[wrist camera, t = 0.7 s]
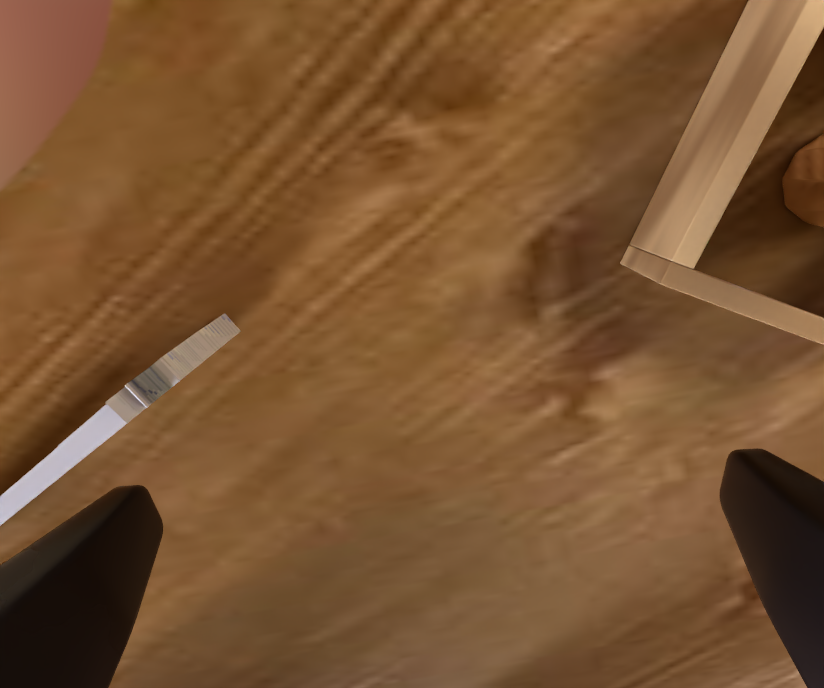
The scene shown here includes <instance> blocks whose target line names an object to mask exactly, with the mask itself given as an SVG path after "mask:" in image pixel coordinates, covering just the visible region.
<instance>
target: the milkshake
mask: <svg viewBox="0 0 824 688" xmlns="http://www.w3.org/2000/svg"><path fill="white" fill-rule="evenodd" d="M782 184H783V192H784V201H785V206H786V207H787V208H788V209H790V210H791V211H792V212H793V213H794V214H796V215H797V216H798V217H799V218H800V219H801V220H803V221H804V222H806V223H809V224H813V225H817V226H821V227H824V134H823V135H821V136H820V137H818V138H817V139H815V140H814V141H812V142H811V143H809V144H807V145H806V146H804V147H803V148H801V149H800V150H798V151H797V152H796V153H795V155H794V157H793V159H792V161H791V163H790V165H789V167H788V169H787V171H786V173H785V174H784V176H783V178H782Z"/></svg>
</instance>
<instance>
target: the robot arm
mask: <svg viewBox="0 0 824 688" xmlns="http://www.w3.org/2000/svg"><path fill="white" fill-rule="evenodd" d="M720 502H721V506H722V509H723V511H724V514H725V516H726V518H727V521H728V523H729V526H730V528H731V530H732V533H733V535H734V538H735V540H736V542H737V545H738V547H739V550H740V552H741V554H742V557H743V559H744V561H745V564H746V566H747V569H748V571H749V573H750V576H751V578H752V581H753V583H754V585H755V588H756V590H757V592H758V595H759V597H760V599H761V601H762V604H763V606H764V608H765V610H766V612H767V614H768V616H769V618H770V620H771V621H772V623H773V625H774V627H775V629H776V631H777V633H778V635H779V636H780V638H781V640H782V642H783V644H784V646H785V647H786V649H787V651H788V653H789V655H790V657H791V658H792V660H793V662H794V664H795V666H796V668H797V669H798V671H799V673H800V675H801V677H802V679H803V680H804V682H805V684H806V686H807V688H824V482H823V481H821V480H820V479H818V478H816V477H814V476H812V475H810V474H809V473H807V472H805V471H803V470H801V469H799V468H797V467H796V466H794V465H792V464H790V463H788V462H786V461H785V460H783V459H781V458H779V457H777V456H775V455H774V454H772V453H770V452H768V451H766V450H763V449H742V450H734V451H732V452H731V453H730V454H729V456H728V458H727V462H726V466H725V471H724V475H723V479H722V483H721V488H720ZM162 534H163V523H162V519H161V517H160V515H159V513H158V511H157V509H156V506H155V504H154V502H153V500H152V498H151V496H150V494H149V492H148V490H147V489H146V488H145V487H144V486H140V485H133V486H120V487H116V488H114V489H112V490H111V491H109V492H108V493H107V494H105V495H104V496H102V497H101V498H99V499H98V500H96V501H95V502H93V503H92V504H90V505H89V506H87V507H86V508H84V509H83V510H81V511H80V512H79V513H77V514H76V515H74V516H73V517H71V518H70V519H68V520H67V521H65V522H64V523H62V524H61V525H59V526H58V527H56V528H55V529H53V530H52V531H51V532H49V533H48V534H46V535H45V536H43V537H42V538H40V539H39V540H37V541H36V542H34V543H33V544H31V545H30V546H28V547H27V548H26V549H24V550H23V551H21V552H20V553H18V554H17V555H15V556H14V557H12V558H11V559H9V560H8V561H6V562H5V563H3V564H2V565H0V688H108V687H109V685H110V682H111V680H112V678H113V675H114V673H115V671H116V668H117V666H118V663H119V661H120V659H121V656H122V654H123V652H124V649H125V647H126V644H127V642H128V639H129V637H130V634H131V632H132V629H133V626H134V623H135V620H136V618H137V615H138V612H139V608H140V605H141V602H142V599H143V596H144V592H145V589H146V586H147V583H148V580H149V577H150V573H151V570H152V567H153V564H154V561H155V558H156V554H157V551H158V548H159V545H160V542H161V538H162Z"/></svg>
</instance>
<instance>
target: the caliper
mask: <svg viewBox="0 0 824 688" xmlns="http://www.w3.org/2000/svg"><path fill="white" fill-rule="evenodd" d="M239 332H240V330H239V328H238V327H237V326H236V325H235V324H234V323H233V322H232V321H231V320H230V318H229V317H228V316H227V315H226V314H225V313H224V314H223V315H221V316H220V317H218V318H217V319H215V320H214V321H212V322H211V323H209V324H208V325H206V326H205V327H203V328H202V329H201V330H199V331H198V332H196V333H195V334H193V335H192V336H190V337H189V338H188V339H186V340H185V341H184V342H182V343H181V344H179V345H178V346H177V347H175V348H174V349H172V350H171V351H170V352H168V353H167V354H165V355H164V356H163V357H161V358H160V359H159V360H157V361H156V362H155V363H154V364H153V365H152V366H150V367H149V368H148V369H147V370H145V371H144V372H142V373H141V374H140V375H138V376H137V377H135V378H134V379H133V380H131V381H130V382H128V383H127V384H126V385H125V387H124V388H123V389H122V390H120V391H119V392H118V393H116V394H115V395H114V396H112V397H111V398H110V399H109V400H107V401H106V402H105V403H106V405H105V406H104V407H102V408H101V409H100V410H99V411H98V412H97V413H95V414H94V415H93V416H92V417H91V418H90V419H89V420H87V421H86V422H85V423H84V424H83V425H82V426H80V427H79V428H78V429H77V430H76V431H75V432H73V433H72V434H71V435H70V436H69V437H68V438H66V439H65V440H64V441H63V442H62V443H61V444H59V445H58V447H57V448H56V449H55V450H54V451H52V452H51V453H50V454H49V455H48V456H47V457H45V458H44V459H43V460H42V461H41V462H40V463H38V464H37V465H36V466H35V467H34V468H33V469H31V470H30V471H29V472H28V473H27V474H26V475H24V476H23V477H22V478H21V479H20V480H19V481H17V482H16V483H15V484H14V485H13V486H12V487H10V488H9V489H8V490H7V491H6V492H5V493H3V494H2V495H1V496H0V525H2V524H3V523H4V522H5V521H7V520H8V519H9V518H10V517H11V516H13V515H14V514H15V513H16V512H18V511H19V510H20V509H21V508H23V507H24V506H25V505H26V504H28V503H29V502H30V501H31V500H33V499H34V498H35V497H36V496H38V495H39V494H40V493H41V492H42V491H44V490H45V489H46V488H47V487H49V486H50V485H51V484H52V483H54V482H55V481H56V480H57V479H59V478H60V477H61V476H62V475H64V474H65V473H66V472H67V471H69V470H70V469H71V468H72V467H74V466H75V465H76V464H77V463H79V462H80V461H81V460H82V459H83V458H85V457H86V456H87V455H88V454H90V453H91V452H92V451H93V450H95V449H96V448H97V447H98V446H100V445H101V444H102V443H103V442H105V441H106V440H107V439H108V438H110V437H111V436H112V435H113V434H114V433H116V432H117V431H118V430H119V429H121V428H122V427H123V426H124V425H126V424H127V423H128V422H130V421H131V420H132V419H133V418H134V417H136V416H137V415H138V414H139V413H141V412H142V411H143V410H144V409H146V408H147V407H148V406H149V405H151V404H152V403H153V402H154V401H156V400H157V399H158V398H159V397H160V396H162V395H163V394H164V393H165V392H167V391H168V390H169V389H170V388H172V387H173V386H174V385H175V384H177V383H178V382H179V381H180V380H181V379H183V378H184V377H185V376H186V375H188V374H189V373H190V372H191V371H193V370H194V369H195V368H196V367H197V366H199V365H200V364H201V363H202V362H204V361H205V360H206V359H207V358H209V357H210V356H211V355H212V354H213V353H215V352H216V351H217V350H218V349H220V348H221V347H222V346H223V345H225V344H226V343H227V342H228V341H229V340H231V339H232V338H233V337H234V336H236V335H237V334H238V333H239Z"/></svg>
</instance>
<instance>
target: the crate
mask: <svg viewBox="0 0 824 688" xmlns="http://www.w3.org/2000/svg"><path fill="white" fill-rule="evenodd" d="M823 28H824V0H749V1H748V3H747V5H746V7H745V9H744V11H743V13H742V15H741V17H740V19H739V21H738V23H737V25H736V27H735V29H734V31H733V33H732V35H731V37H730V39H729V41H728V43H727V46H726V48H725V50H724V52H723V54H722V56H721V58H720V60H719V62H718V64H717V66H716V68H715V70H714V72H713V74H712V76H711V78H710V80H709V82H708V84H707V86H706V88H705V90H704V93H703V95H702V97H701V99H700V101H699V103H698V105H697V107H696V109H695V111H694V113H693V115H692V117H691V119H690V121H689V123H688V125H687V127H686V129H685V131H684V133H683V135H682V137H681V140H680V142H679V144H678V146H677V148H676V150H675V152H674V154H673V156H672V158H671V160H670V162H669V164H668V166H667V168H666V170H665V172H664V174H663V176H662V178H661V180H660V182H659V184H658V187H657V189H656V191H655V193H654V195H653V197H652V199H651V201H650V203H649V205H648V207H647V209H646V211H645V213H644V215H643V217H642V219H641V221H640V223H639V225H638V227H637V229H636V231H635V234H634V236H633V238H632V240H631V242H630V245H629V246H628V248H627V250H626V252H625V254H624V256H623V258H622V260H621V262H620V264H622V265H624V266H626V267H628V268H629V269H631V270H633V271H635V272H637V273H639V274H641V275H643V276H645V277H647V278H649V279H651V280H653V281H655V282H657V283H659V284H661V285H663V286H666V287H669V288H671V289H674V290H677V291H680V292H682V293H685V294H688V295H690V296H693V297H696V298H698V299H701V300H704V301H707V302H709V303H712V304H715V305H717V306H720V307H723V308H725V309H728V310H731V311H733V312H736V313H739V314H742V315H744V316H747V317H750V318H752V319H755V320H758V321H760V322H763V323H766V324H768V325H771V326H774V327H777V328H779V329H782V330H785V331H787V332H790V333H793V334H795V335H798V336H801V337H804V338H806V339H809V340H812V341H814V342H817V343H820V344H822V345H824V317H821V316H818V315H816V314H813V313H810V312H808V311H805V310H802V309H800V308H797V307H794V306H792V305H789V304H786V303H784V302H781V301H778V300H776V299H773V298H770V297H768V296H765V295H762V294H760V293H757V292H754V291H752V290H749V289H746V288H744V287H741V286H738V285H736V284H733V283H730V282H728V281H725V280H722V279H720V278H717V277H714V276H711V275H709V274H706V273H703V272H701V271H698V270H695V269H693V268H694V267H695V265H696V263H697V262H698V260H699V258H700V256H701V254H702V252H703V250H704V249H705V247H706V245H707V243H708V241H709V239H710V237H711V236H712V234H713V232H714V230H715V228H716V226H717V224H718V223H719V221H720V219H721V217H722V215H723V213H724V211H725V210H726V208H727V206H728V204H729V202H730V200H731V198H732V197H733V195H734V193H735V191H736V189H737V187H738V185H739V184H740V182H741V180H742V178H743V176H744V174H745V172H746V171H747V169H748V167H749V165H750V163H751V161H752V159H753V158H754V156H755V154H756V152H757V150H758V148H759V146H760V145H761V143H762V141H763V139H764V137H765V135H766V133H767V132H768V130H769V128H770V126H771V124H772V122H773V120H774V119H775V117H776V115H777V113H778V111H779V109H780V107H781V106H782V104H783V102H784V100H785V98H786V96H787V94H788V93H789V91H790V89H791V87H792V85H793V83H794V81H795V80H796V78H797V76H798V74H799V72H800V70H801V68H802V67H803V65H804V63H805V61H806V59H807V57H808V55H809V54H810V52H811V50H812V48H813V46H814V44H815V42H816V41H817V39H818V37H819V35H820V33H821V31H822V29H823Z"/></svg>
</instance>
